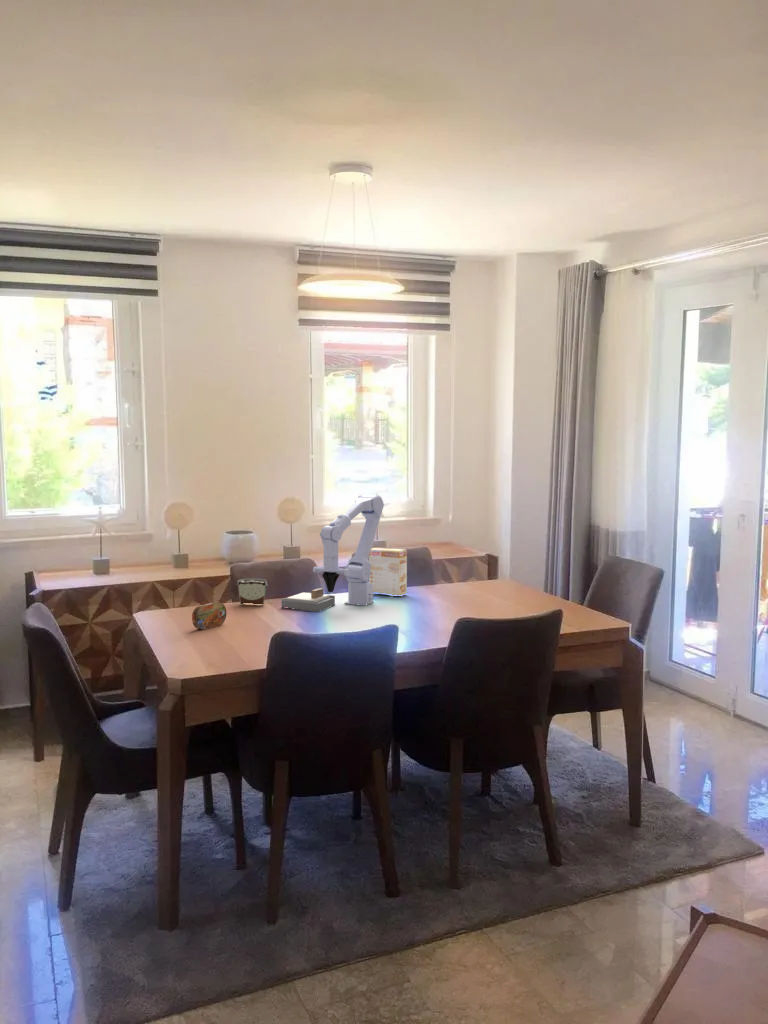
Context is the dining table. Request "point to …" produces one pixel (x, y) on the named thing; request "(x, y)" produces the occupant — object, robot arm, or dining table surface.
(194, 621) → the tin
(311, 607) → the box
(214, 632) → the dining table surface
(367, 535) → the robot arm
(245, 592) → the food container
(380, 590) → the coffeecake box
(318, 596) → the cover
